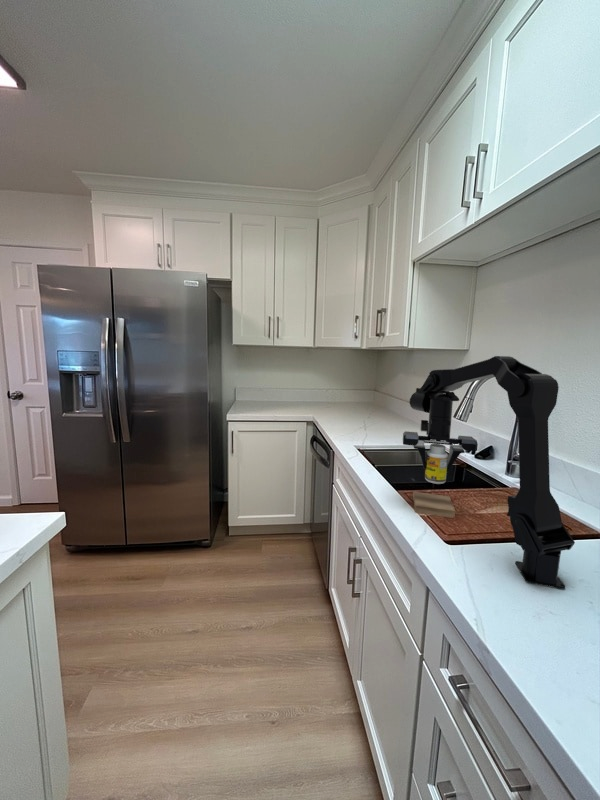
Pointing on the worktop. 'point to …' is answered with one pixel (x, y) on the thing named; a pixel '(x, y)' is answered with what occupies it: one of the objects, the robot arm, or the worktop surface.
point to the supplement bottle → (436, 464)
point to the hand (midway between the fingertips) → (435, 470)
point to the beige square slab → (433, 504)
